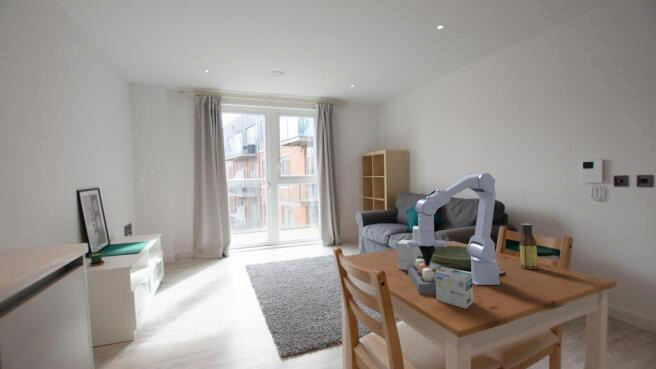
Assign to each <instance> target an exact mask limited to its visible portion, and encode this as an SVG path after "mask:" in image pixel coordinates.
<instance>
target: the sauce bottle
mask: <svg viewBox="0 0 656 369" xmlns="http://www.w3.org/2000/svg"><path fill="white" fill-rule="evenodd" d="M520 228H521V235H520V237H519V254H520V255H519V256H520V265H521V266H520V267H521V268H522V269H526V270H537V269H538V252H537V242H536V238H535V237H534V235H533V224H532V223H521V227H520Z"/></svg>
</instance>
